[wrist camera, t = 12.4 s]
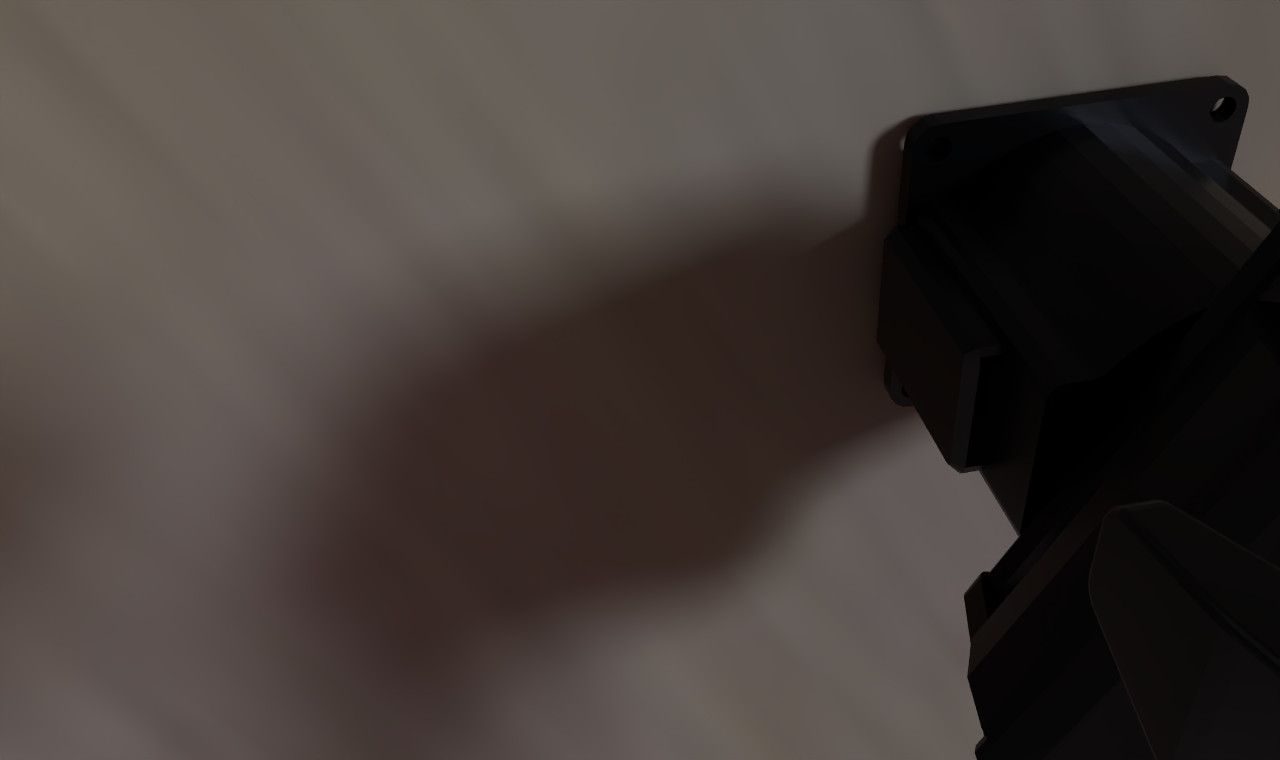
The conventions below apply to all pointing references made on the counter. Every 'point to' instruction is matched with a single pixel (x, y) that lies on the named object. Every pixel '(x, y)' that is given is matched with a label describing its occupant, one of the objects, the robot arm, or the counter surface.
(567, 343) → the counter surface
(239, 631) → the counter surface
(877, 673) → the counter surface
